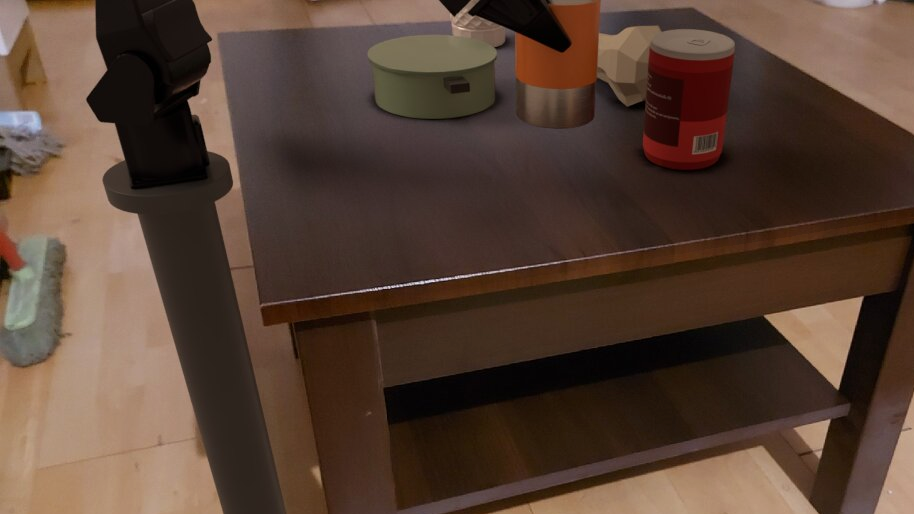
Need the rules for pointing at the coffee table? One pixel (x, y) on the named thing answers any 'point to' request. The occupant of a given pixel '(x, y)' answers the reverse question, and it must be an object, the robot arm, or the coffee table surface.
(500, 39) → the white cup
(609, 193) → the coffee table surface
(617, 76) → the faceted club
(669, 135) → the canned food
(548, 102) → the tin can
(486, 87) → the pot
